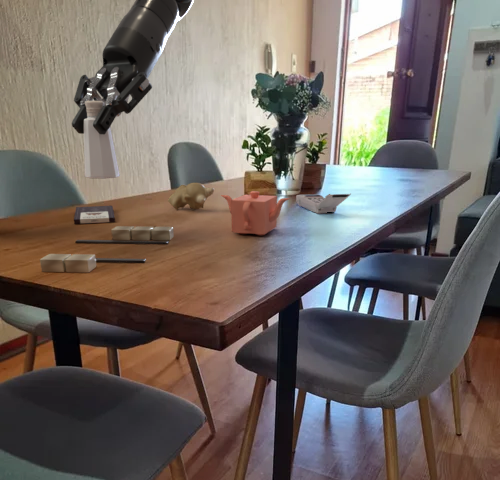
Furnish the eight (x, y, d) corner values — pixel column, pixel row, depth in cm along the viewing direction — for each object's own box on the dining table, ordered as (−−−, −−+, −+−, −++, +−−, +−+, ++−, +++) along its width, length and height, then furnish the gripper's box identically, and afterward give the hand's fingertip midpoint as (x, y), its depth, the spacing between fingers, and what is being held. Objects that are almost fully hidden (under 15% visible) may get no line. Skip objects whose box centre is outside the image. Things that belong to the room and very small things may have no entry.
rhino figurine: (184, 183, 137) (212, 173, 128) (196, 207, 140) (224, 199, 131) (162, 195, 132) (189, 185, 124) (175, 220, 135) (202, 212, 126)
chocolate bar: (112, 205, 133) (114, 217, 117) (112, 209, 133) (115, 221, 117) (76, 207, 131) (73, 219, 115) (76, 210, 131) (74, 223, 115)
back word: (75, 243, 98) (74, 232, 97) (88, 235, 104) (86, 225, 104) (167, 244, 97) (166, 234, 96) (174, 236, 103) (174, 226, 103)
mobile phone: (329, 194, 118) (292, 181, 140) (327, 219, 120) (291, 203, 142) (353, 193, 119) (312, 181, 142) (350, 219, 122) (311, 202, 144)
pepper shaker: (100, 174, 84) (92, 101, 80) (126, 176, 82) (120, 101, 78) (77, 177, 80) (67, 100, 75) (104, 179, 78) (96, 100, 73)
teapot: (231, 224, 115) (231, 186, 111) (296, 229, 110) (297, 189, 107) (210, 235, 104) (209, 193, 101) (280, 240, 100) (281, 197, 96)
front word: (41, 271, 80) (39, 259, 79) (60, 259, 87) (58, 248, 86) (134, 273, 79) (133, 260, 78) (146, 261, 86) (145, 249, 85)
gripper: (90, 28, 82) (38, 110, 77) (158, 21, 75) (106, 110, 70) (117, 68, 88) (71, 146, 83) (182, 64, 81) (136, 149, 76)
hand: (87, 129), depth 77 cm, fingers closed on pepper shaker, 4 cm apart
